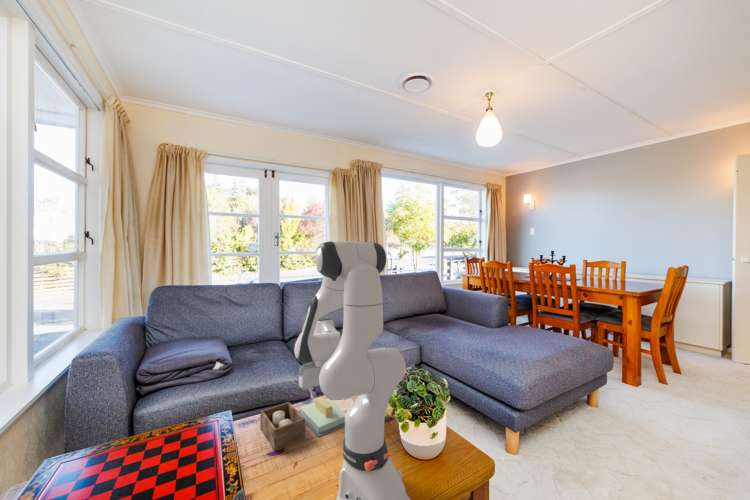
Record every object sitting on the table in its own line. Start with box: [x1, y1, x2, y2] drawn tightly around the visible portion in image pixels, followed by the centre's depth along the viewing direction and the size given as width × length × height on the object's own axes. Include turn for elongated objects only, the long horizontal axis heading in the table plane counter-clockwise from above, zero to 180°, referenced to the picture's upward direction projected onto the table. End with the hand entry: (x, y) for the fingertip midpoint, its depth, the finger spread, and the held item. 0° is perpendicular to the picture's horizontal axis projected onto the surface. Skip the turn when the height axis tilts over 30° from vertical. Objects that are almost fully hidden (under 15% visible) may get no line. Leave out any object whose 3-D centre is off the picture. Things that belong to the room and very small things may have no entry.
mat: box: [297, 410, 345, 438], centre depth 120 cm, size 20×15×1 cm
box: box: [259, 401, 306, 452], centre depth 109 cm, size 15×11×7 cm
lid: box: [299, 396, 346, 433], centre depth 120 cm, size 17×13×6 cm
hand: (324, 393), depth 119 cm, fingers open, 8 cm apart
